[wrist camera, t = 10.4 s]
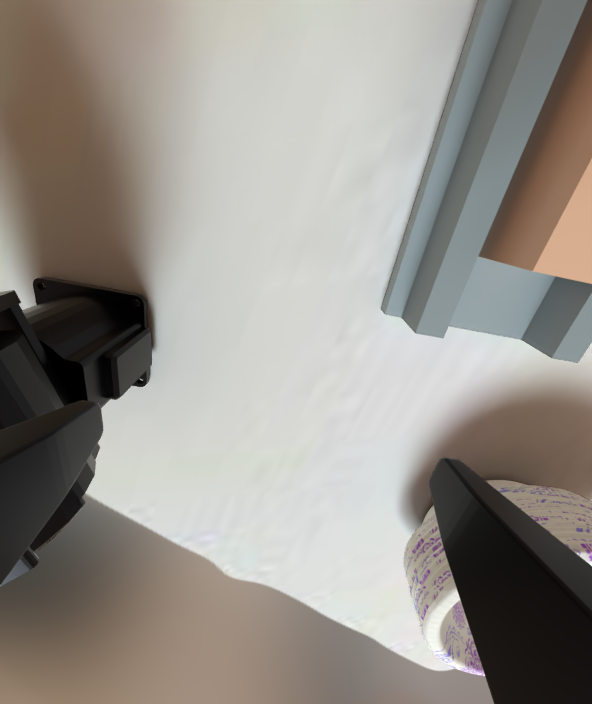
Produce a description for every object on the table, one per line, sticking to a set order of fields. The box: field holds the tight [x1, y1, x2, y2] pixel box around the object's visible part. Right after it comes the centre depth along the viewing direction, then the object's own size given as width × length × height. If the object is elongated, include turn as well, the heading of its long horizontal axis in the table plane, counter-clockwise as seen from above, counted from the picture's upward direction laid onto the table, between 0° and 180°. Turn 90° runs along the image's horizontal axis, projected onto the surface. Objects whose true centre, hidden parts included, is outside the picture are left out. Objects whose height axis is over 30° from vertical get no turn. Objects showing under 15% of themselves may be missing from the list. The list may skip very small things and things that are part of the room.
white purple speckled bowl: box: [403, 480, 592, 676], centre depth 23 cm, size 15×15×8 cm
